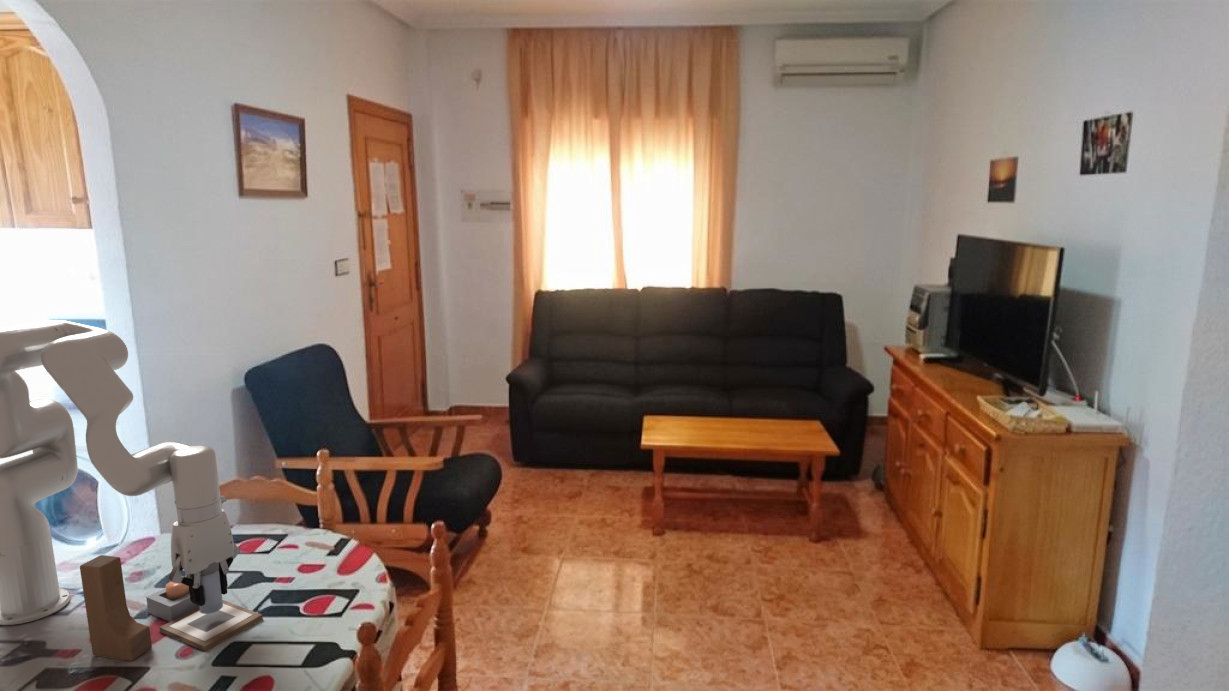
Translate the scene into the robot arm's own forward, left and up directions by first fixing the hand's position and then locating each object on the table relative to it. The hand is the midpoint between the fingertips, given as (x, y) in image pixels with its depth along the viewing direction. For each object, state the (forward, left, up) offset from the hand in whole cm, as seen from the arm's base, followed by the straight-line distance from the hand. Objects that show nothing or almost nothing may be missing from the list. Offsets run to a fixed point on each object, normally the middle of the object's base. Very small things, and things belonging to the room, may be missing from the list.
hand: (209, 597), depth 138 cm
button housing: (-12, +1, -6) cm, 14 cm away
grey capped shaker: (0, 0, -2) cm, 2 cm away
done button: (-12, +1, -3) cm, 13 cm away
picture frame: (0, 0, -6) cm, 6 cm away
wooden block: (-7, -13, -6) cm, 16 cm away
